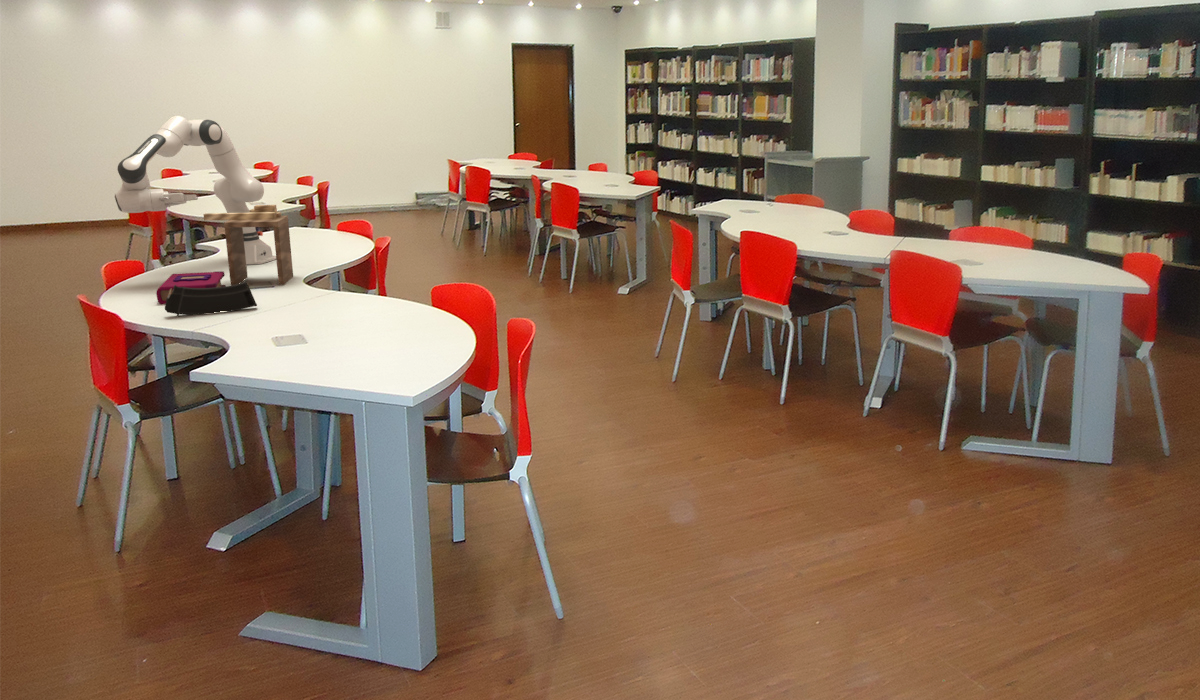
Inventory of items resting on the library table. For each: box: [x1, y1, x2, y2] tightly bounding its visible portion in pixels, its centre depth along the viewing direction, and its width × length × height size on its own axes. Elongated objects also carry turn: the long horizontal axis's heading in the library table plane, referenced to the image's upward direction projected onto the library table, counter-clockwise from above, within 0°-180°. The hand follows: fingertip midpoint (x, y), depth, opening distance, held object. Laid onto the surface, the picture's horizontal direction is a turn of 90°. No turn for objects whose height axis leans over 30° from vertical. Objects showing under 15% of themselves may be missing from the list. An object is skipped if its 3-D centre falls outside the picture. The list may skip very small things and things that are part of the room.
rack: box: [223, 204, 294, 286], centre depth 399 cm, size 21×19×31 cm
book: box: [155, 270, 227, 305], centre depth 375 cm, size 21×28×8 cm
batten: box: [203, 212, 276, 221], centre depth 395 cm, size 28×3×2 cm, turn 96°
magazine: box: [164, 280, 258, 317], centre depth 345 cm, size 17×3×30 cm
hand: (197, 197), depth 392 cm, fingers open, 8 cm apart
